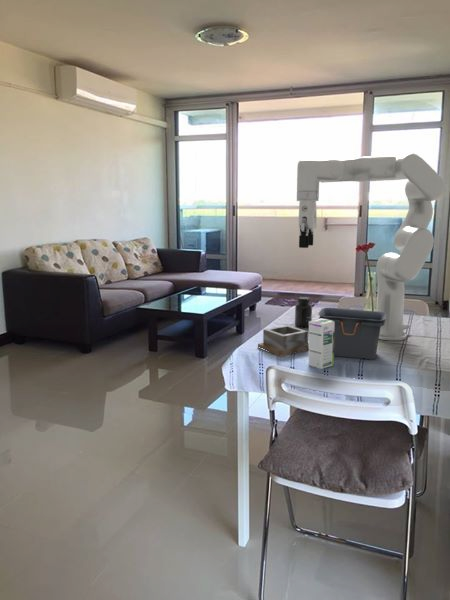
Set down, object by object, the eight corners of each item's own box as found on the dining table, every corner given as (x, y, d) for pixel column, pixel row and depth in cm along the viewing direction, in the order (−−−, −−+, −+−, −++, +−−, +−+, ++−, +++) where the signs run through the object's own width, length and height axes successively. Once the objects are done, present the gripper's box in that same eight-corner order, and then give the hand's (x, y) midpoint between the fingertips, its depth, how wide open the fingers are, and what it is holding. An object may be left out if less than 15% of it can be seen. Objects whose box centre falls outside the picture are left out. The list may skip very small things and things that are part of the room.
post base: (290, 341, 184) (290, 323, 182) (313, 348, 174) (313, 330, 172) (257, 347, 176) (257, 330, 174) (279, 356, 166) (279, 337, 165)
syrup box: (322, 369, 152) (323, 323, 150) (307, 365, 157) (308, 320, 154) (334, 365, 156) (335, 320, 153) (319, 361, 160) (320, 317, 158)
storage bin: (384, 351, 170) (386, 310, 167) (383, 365, 156) (385, 321, 153) (321, 346, 177) (322, 307, 174) (314, 359, 162) (315, 316, 160)
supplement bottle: (311, 329, 200) (311, 299, 198) (294, 328, 202) (294, 299, 199) (311, 324, 207) (312, 296, 205) (295, 324, 208) (295, 296, 206)
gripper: (314, 196, 162) (312, 249, 166) (322, 196, 179) (320, 244, 182) (291, 196, 165) (290, 248, 168) (301, 197, 181) (300, 244, 184)
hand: (306, 246), depth 175 cm, fingers open, 9 cm apart
